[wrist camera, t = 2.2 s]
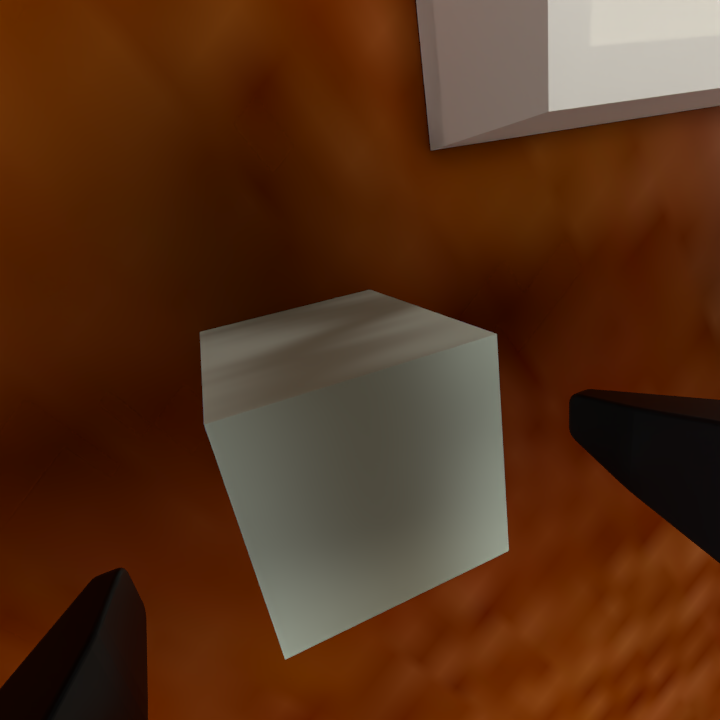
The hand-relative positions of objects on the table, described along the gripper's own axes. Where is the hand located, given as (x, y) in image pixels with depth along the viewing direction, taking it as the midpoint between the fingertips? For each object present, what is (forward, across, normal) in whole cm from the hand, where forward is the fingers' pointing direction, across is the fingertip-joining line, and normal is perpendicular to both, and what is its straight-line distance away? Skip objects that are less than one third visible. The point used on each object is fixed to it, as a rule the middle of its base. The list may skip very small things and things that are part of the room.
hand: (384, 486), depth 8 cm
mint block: (+6, 0, 0) cm, 6 cm away
